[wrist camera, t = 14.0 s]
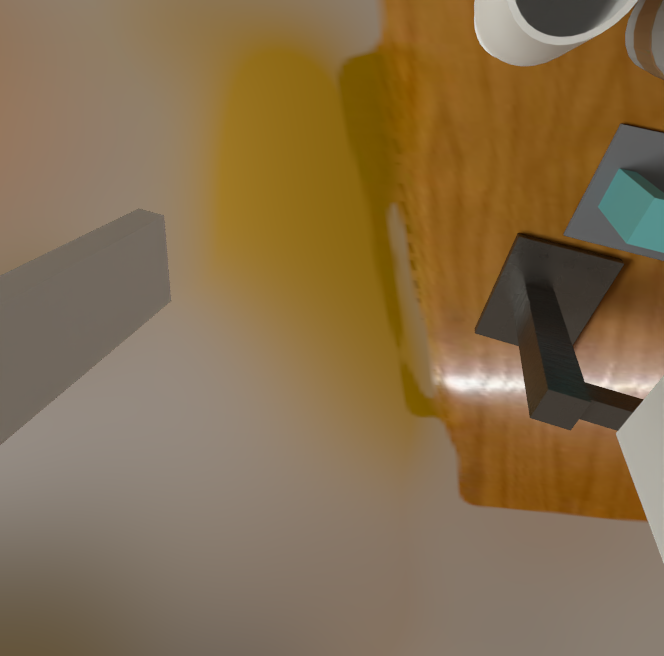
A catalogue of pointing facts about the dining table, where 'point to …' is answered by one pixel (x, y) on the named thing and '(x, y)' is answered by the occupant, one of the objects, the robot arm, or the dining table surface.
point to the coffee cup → (647, 36)
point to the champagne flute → (542, 26)
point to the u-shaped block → (635, 210)
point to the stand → (554, 328)
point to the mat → (625, 153)
